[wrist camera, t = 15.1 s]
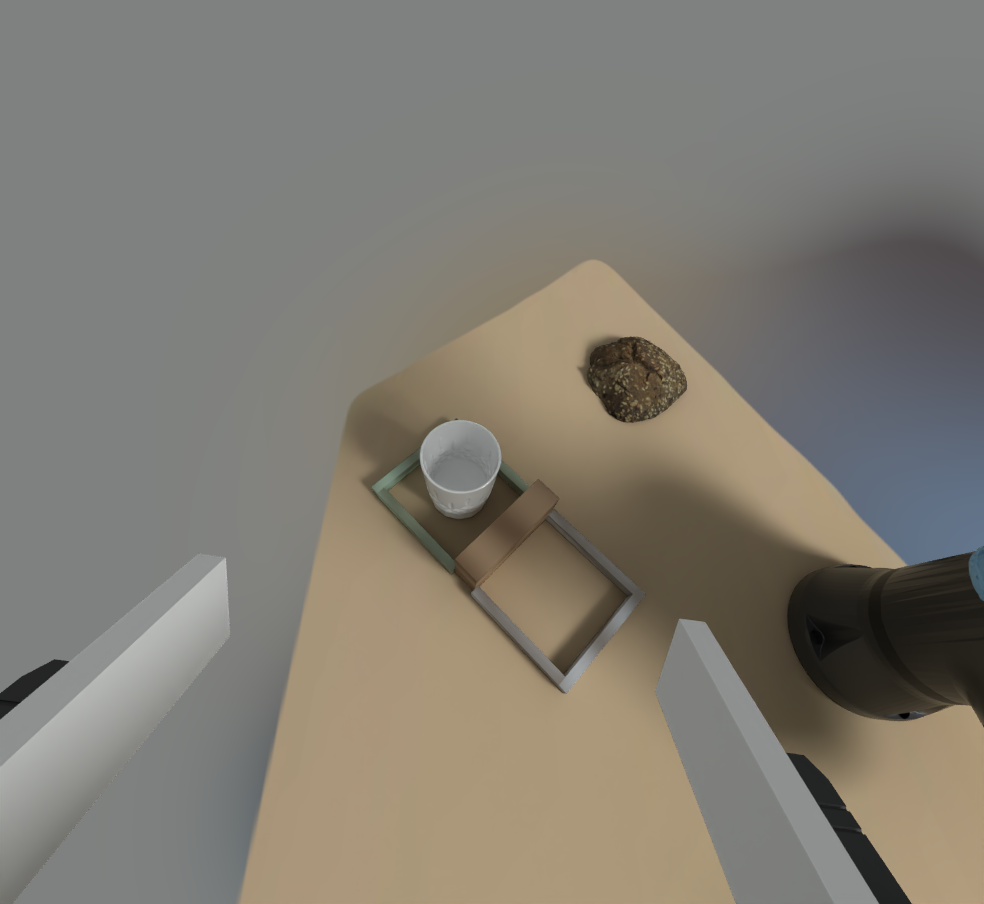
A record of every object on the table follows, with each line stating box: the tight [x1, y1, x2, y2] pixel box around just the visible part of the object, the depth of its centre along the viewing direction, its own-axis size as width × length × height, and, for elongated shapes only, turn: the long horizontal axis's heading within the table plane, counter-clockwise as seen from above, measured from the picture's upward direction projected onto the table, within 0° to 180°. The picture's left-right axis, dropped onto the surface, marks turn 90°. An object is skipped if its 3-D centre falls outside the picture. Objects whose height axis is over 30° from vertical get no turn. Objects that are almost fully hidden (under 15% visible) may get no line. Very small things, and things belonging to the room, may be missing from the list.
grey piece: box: [371, 418, 646, 694], centre depth 48 cm, size 13×29×6 cm, turn 45°
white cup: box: [420, 420, 501, 519], centre depth 49 cm, size 8×8×10 cm
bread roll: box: [588, 337, 687, 423], centre depth 60 cm, size 13×12×5 cm
